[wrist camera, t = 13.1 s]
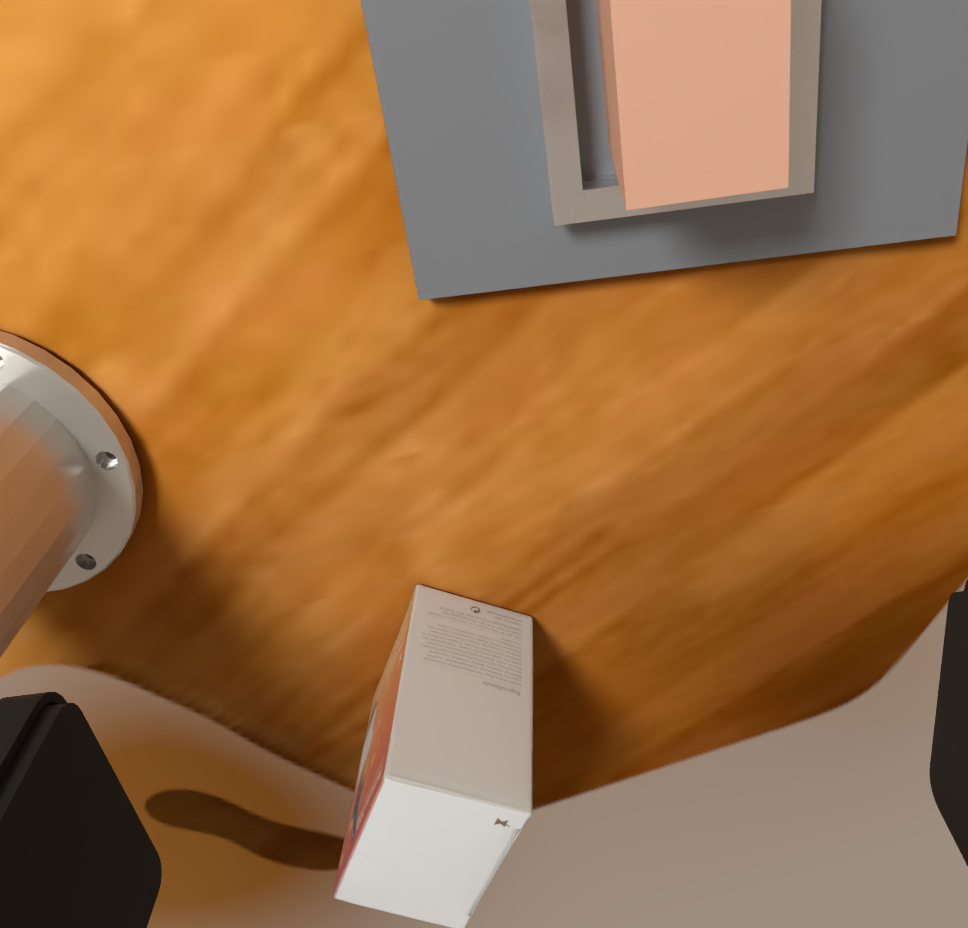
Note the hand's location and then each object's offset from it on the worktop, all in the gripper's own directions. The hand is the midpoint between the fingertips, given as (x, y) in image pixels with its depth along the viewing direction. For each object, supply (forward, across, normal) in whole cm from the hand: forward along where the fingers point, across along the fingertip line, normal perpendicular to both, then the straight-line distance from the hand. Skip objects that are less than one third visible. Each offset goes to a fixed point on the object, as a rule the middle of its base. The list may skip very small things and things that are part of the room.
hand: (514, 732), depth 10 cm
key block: (+23, -6, -4) cm, 24 cm away
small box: (+25, +6, +21) cm, 34 cm away
